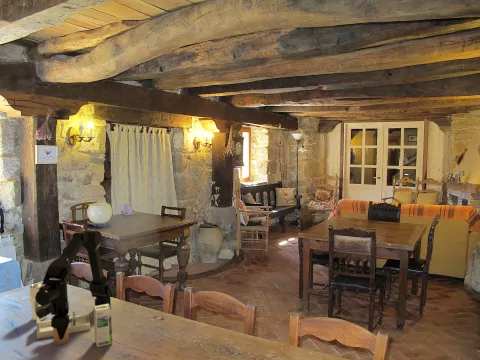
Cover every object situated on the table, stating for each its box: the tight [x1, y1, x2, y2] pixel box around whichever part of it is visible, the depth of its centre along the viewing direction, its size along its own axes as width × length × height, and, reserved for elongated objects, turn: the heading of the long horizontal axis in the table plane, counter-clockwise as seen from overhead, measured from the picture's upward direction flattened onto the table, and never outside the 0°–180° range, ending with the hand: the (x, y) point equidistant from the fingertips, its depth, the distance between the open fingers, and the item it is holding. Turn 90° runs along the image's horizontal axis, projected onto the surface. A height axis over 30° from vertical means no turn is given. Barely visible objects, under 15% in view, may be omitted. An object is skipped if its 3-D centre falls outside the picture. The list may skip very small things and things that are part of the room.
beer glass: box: [29, 282, 48, 322], centre depth 183 cm, size 7×7×15 cm
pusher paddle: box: [69, 311, 76, 326], centre depth 174 cm, size 4×8×4 cm, turn 23°
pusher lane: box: [36, 313, 91, 340], centre depth 173 cm, size 20×11×6 cm, turn 113°
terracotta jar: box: [53, 325, 70, 345], centre depth 162 cm, size 6×6×8 cm
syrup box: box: [92, 304, 113, 348], centre depth 161 cm, size 6×6×14 cm
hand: (61, 334), depth 162 cm, fingers open, 9 cm apart
